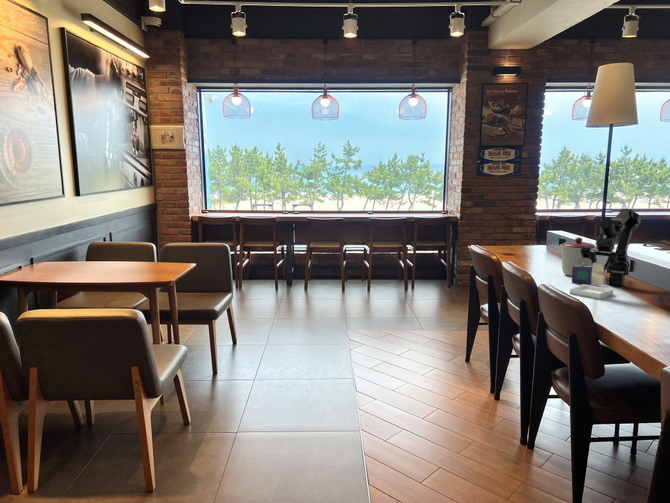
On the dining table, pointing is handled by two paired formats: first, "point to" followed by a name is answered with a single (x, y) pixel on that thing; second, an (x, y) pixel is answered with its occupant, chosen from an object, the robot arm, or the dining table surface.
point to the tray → (591, 291)
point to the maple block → (598, 273)
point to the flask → (582, 274)
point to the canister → (574, 255)
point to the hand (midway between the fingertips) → (598, 268)
